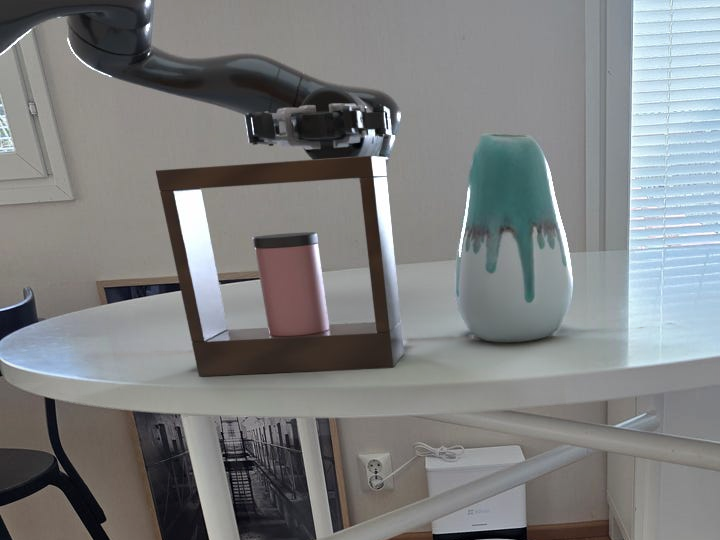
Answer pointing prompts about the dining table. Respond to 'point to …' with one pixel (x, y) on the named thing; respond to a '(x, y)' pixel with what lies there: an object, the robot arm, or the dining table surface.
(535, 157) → the vase
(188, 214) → the shelf
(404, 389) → the dining table surface
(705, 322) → the dining table surface
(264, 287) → the liner canister
